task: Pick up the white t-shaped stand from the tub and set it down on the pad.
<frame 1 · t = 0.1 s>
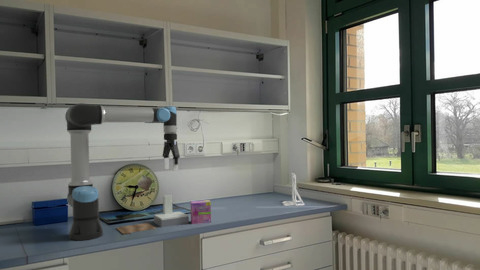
hand: (171, 169, 220), 28 cm above the countertop, tool pointing down, fingers open, 13 cm apart
pad: (136, 229, 195), on the countertop
tub: (171, 223, 205), on the countertop
part left: (165, 224, 201), resting on tub
part right: (179, 222, 205), resting on tub
box: (201, 223, 205), on the countertop
film strip holder: (293, 204, 254), on the countertop
white t-shaped stand: (171, 216, 205), point 4 cm above the countertop, touching tub
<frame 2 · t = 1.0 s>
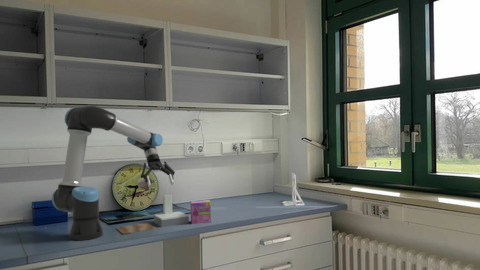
hand: (161, 185, 217), 19 cm above the countertop, tool tilted 45°, fingers open, 13 cm apart
nothing on the countertop moved.
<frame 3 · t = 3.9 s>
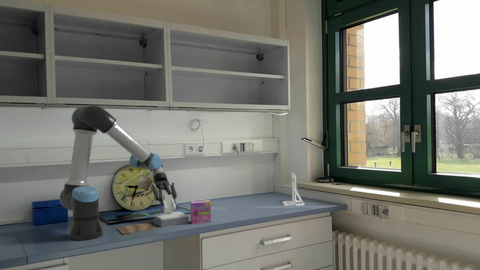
hand: (170, 209, 205), 8 cm above the countertop, tool tilted 45°, fingers closed on white t-shaped stand, 4 cm apart
white t-shaped stand: (171, 216, 205), point 4 cm above the countertop, touching gripper, tub
everything else where it was.
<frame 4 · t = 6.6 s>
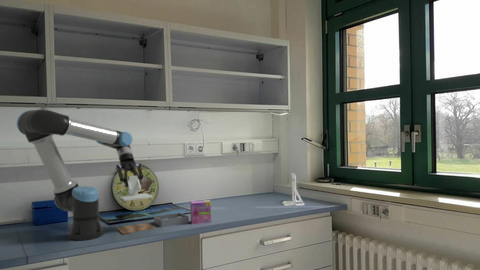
hand: (135, 190, 196), 20 cm above the countertop, tool tilted 45°, fingers closed on white t-shaped stand, 4 cm apart
white t-shaped stand: (135, 197, 195), point 16 cm above the countertop, touching gripper
everything else where it was.
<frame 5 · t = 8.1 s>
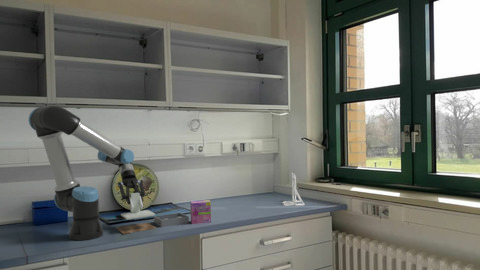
hand: (137, 207, 196), 11 cm above the countertop, tool tilted 45°, fingers closed on white t-shaped stand, 4 cm apart
white t-shaped stand: (137, 215, 196), point 7 cm above the countertop, touching gripper
everything else where it was.
when the fingers open (5 cm above the countertop, at t = 9.4 s): white t-shaped stand moves 1 cm, resting on pad.
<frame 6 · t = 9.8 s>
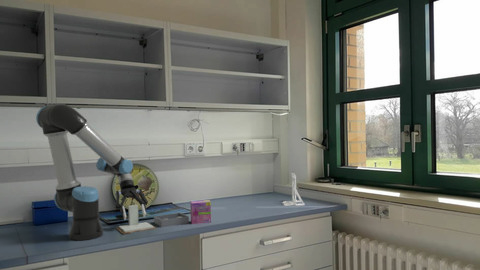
hand: (135, 216, 196), 6 cm above the countertop, tool tilted 45°, fingers open, 9 cm apart
white t-shaped stand: (136, 227, 195), point 1 cm above the countertop, touching pad
everything else where it was.
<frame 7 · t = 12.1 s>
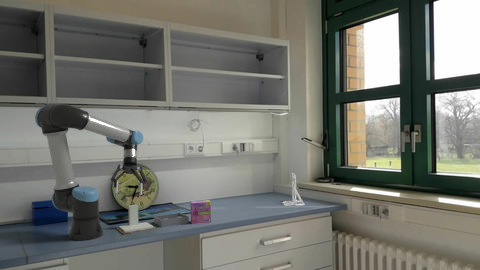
hand: (128, 194, 211), 16 cm above the countertop, tool tilted 25°, fingers open, 13 cm apart
nothing on the countertop moved.
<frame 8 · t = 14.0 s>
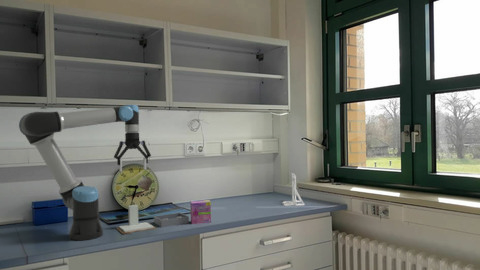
hand: (133, 170, 212), 29 cm above the countertop, tool pointing down, fingers open, 13 cm apart
nothing on the countertop moved.
at the end: white t-shaped stand inside the target area on the pad (0.1 cm from its centre), point 0.6 cm above the pad's base; white t-shaped stand tilted 0°; white t-shaped stand touching pad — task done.
